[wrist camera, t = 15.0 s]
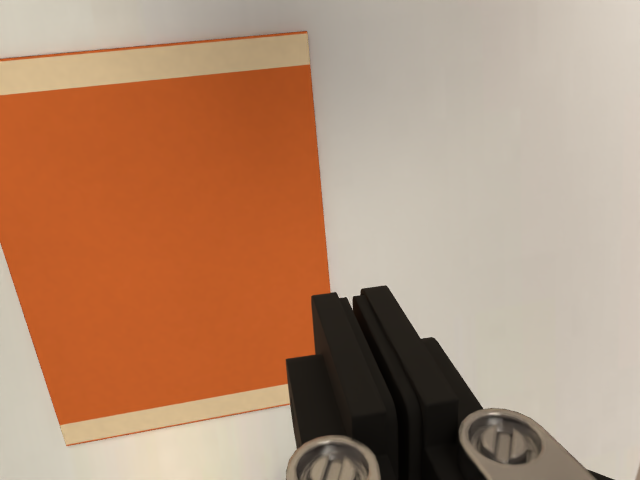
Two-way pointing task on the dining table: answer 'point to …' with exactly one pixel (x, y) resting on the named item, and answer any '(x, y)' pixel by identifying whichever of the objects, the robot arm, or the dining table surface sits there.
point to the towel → (163, 226)
